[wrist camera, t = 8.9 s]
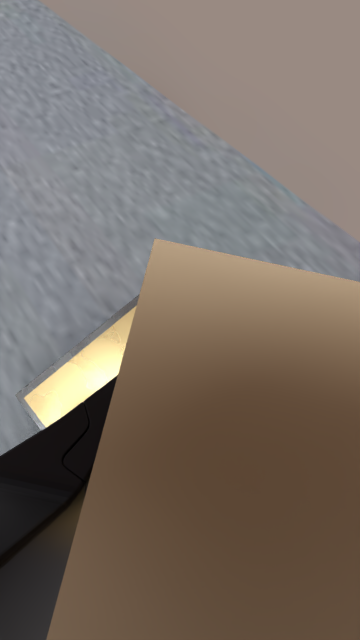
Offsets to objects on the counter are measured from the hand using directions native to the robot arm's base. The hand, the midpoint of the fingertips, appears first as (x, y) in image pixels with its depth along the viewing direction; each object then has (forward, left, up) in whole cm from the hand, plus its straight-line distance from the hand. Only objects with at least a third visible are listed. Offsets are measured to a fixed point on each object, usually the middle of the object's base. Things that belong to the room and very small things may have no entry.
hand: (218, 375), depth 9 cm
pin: (-1, +1, -7) cm, 7 cm away
